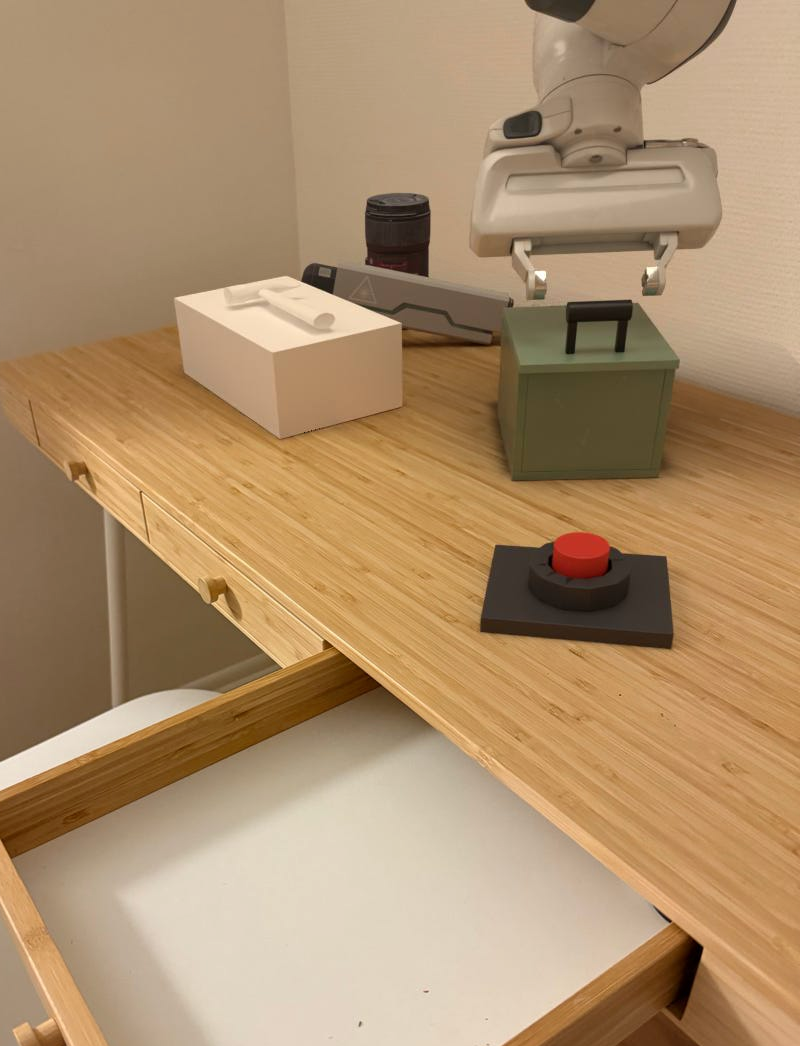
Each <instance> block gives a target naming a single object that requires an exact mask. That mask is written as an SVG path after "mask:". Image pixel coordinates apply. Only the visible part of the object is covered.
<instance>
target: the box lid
mask: <svg viewBox="0 0 800 1046" xmlns="http://www.w3.org/2000/svg"><path fill="white" fill-rule="evenodd" d="M502 316H503V319H504V323H505V326H506V329H507V333H508V336H509V339H510V343H511V346H512V349H513V353H514V356H515V359H516V363H517V366H518V369H519V373H520V374H527V373H559V372H591V371H623V370H654V369H676V370H678V369H679V368H680V363H681V359H680V358H679V356H678V355H677V353H676V352H675V351H674V349H673V348H672V346H671V345H670V344H669V342H668V341H667V340H666V339H665V337H664V335H663V334H662V333H661V332H660V330H659V329H658V328H657V326H656V325H655V323H654V322H653V320H652V319H651V318H650V317H649V315H648V314H647V312H646V311H645V310H644V309H643V307H642V306H641V304H640V303H639V302H633V300H632V299H609V300H608V299H606V300H583V301H582V300H581V301H567V303H566V304H565V305H540V306H539V305H536V306H513V307H509V308H503V312H502Z"/></svg>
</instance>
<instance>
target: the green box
mask: <svg viewBox="0 0 800 1046" xmlns="http://www.w3.org/2000/svg"><path fill="white" fill-rule="evenodd" d="M500 333H501V334H500V355H499V372H498V392H497V412H496V415H497V420H498V425H499V428H500V433H501V437H502V443H503V446H504V452H505V455H506V460H507V465H508V469H509V470H508V471H509V474H510V478H511V481H514V482H515V481H516V482H517V481H556V480H557V481H558V480H559V481H560V480H602V479H604V480H605V479H607V480H609V479H648V478H649V479H653V478H654V479H655V478H659V477H660V473H661V466H662V460H663V453H664V446H665V442H666V441H665V440H666V433H667V428H668V421H669V415H670V409H671V403H672V396H673V389H674V383H675V377H676V370H677V369H654V370H623V371H591V372H559V373H527V374H520V373H519V369H518V366H517V363H516V359H515V356H514V353H513V349H512V346H511V343H510V339H509V336H508V333H507V329H506V326H505V323H504V319H503V317H502V329H501V332H500Z"/></svg>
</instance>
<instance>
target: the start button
mask: <svg viewBox="0 0 800 1046" xmlns="http://www.w3.org/2000/svg"><path fill="white" fill-rule="evenodd" d="M553 542H554V549H553V559H552V567H553V570H554V571H555V572H556V573H559V574H562V575H564V576H567V577H570V578H579V579H590V578H595V577H600V576H603V575H604V574H605V573H606V571H607V567H608V559H609V552H610V546H611V545H610V543H609V541H608V540H606V539H605V538H604V537H602V536H600V535H598V534H594V533H590V532H581V531H580V532H579V531H578V532H577V531H576V532H575V531H574V532H568V533H564V534H562V535H560V536H558V537H557V538H556V539H555V541H553Z"/></svg>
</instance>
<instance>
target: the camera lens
mask: <svg viewBox="0 0 800 1046" xmlns="http://www.w3.org/2000/svg"><path fill="white" fill-rule="evenodd" d="M431 216H432V210H431V206H430V199H429V197H428V196H426V195H424V194H420V193H413V192H391V193H390V192H387V193H380V194H376V195H371V196H370V197H368V198H367V199H366V205H365V211H364V238H365V247H366V257H365V259H364V265H369V266H374V267H379V268H384V269H389V270H394V271H399V272H404V273H409V274H414V275H419V276H424V277H429V278H430V274H429V273H430V271H429V270H430V267H429V266H430V265H429V262H430V259H429V258H430V243H431V230H432V229H431V227H432V226H431V222H432V221H431V220H432V219H431V218H432V217H431ZM402 330H405V328H402Z"/></svg>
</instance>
